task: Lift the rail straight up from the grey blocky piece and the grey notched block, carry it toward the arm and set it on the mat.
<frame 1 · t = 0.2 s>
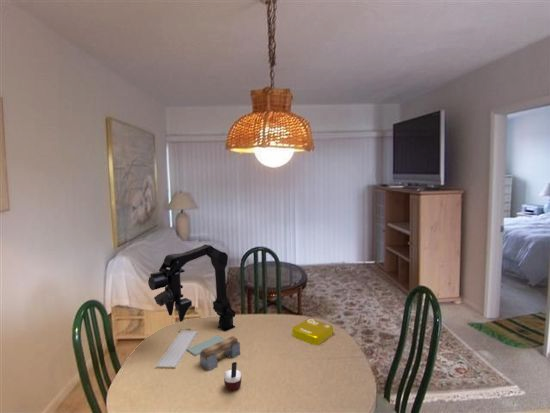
hand: (175, 318, 148), 14 cm above the table, fingers open, 9 cm apart
grey blocky piece: (232, 354, 145), on the table
cocoa: (232, 388, 123), on the table
element tile: (312, 336, 161), on the table
mat: (207, 345, 153), on the table
baseboard: (176, 350, 151), on the table
grey notched block: (208, 366, 137), on the table
rail: (220, 350, 140), point 4 cm above the table, touching grey blocky piece, grey notched block
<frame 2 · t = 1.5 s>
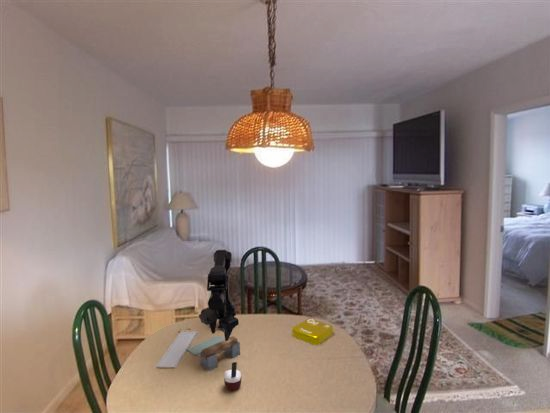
hand: (219, 337, 140), 10 cm above the table, fingers open, 9 cm apart
nothing on the table moved.
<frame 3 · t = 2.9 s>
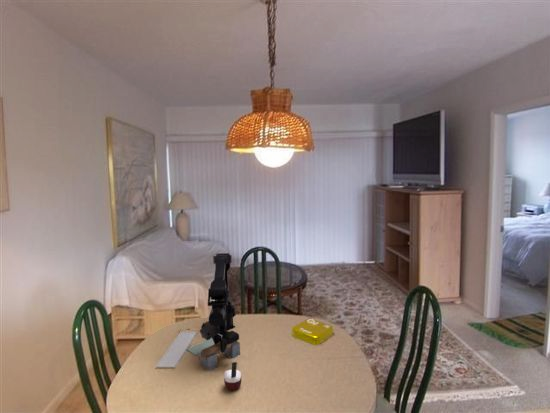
hand: (220, 351, 141), 4 cm above the table, fingers closed on rail, 3 cm apart
rail: (220, 350, 140), point 4 cm above the table, touching gripper, grey blocky piece, grey notched block
everything else where it was.
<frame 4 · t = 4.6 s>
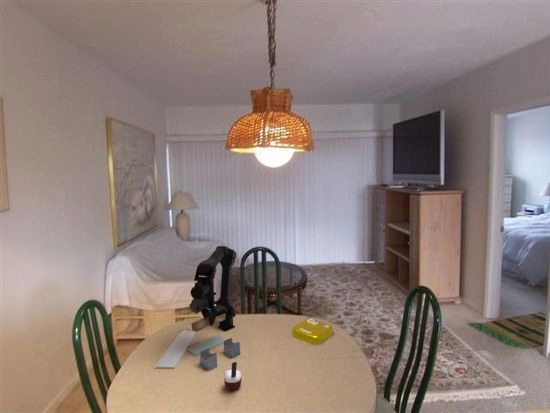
hand: (209, 324, 150), 11 cm above the table, fingers closed on rail, 3 cm apart
rail: (209, 324, 150), point 11 cm above the table, touching gripper
everything else where it was.
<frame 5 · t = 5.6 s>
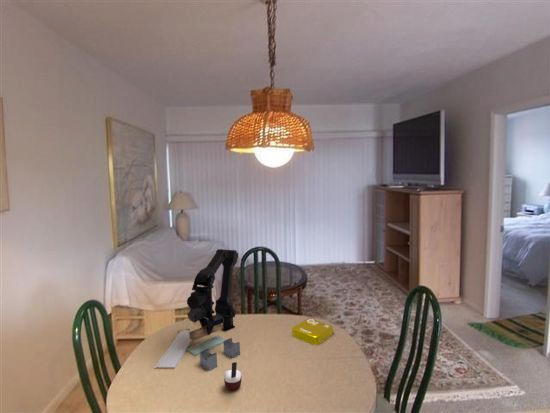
hand: (207, 333, 152), 6 cm above the table, fingers closed on rail, 3 cm apart
rail: (206, 333, 152), point 6 cm above the table, touching gripper
everything else where it was.
when the fingers open (2 cm above the table, at t = 6.4 s): rail drops 2 cm, resting on mat.
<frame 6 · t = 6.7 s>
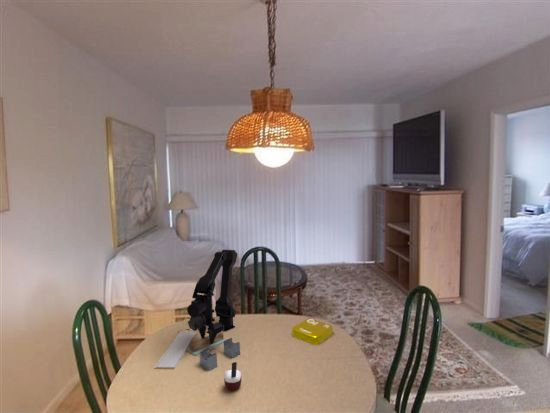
hand: (207, 341, 153), 2 cm above the table, fingers open, 6 cm apart
rail: (207, 344, 153), point 1 cm above the table, touching mat
everything else where it was.
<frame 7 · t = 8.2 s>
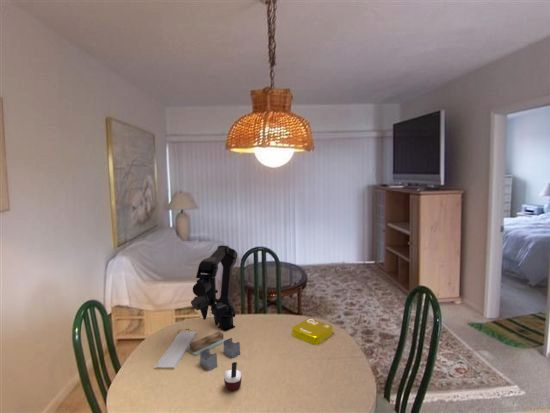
hand: (210, 322, 151), 11 cm above the table, fingers open, 9 cm apart
nothing on the table moved.
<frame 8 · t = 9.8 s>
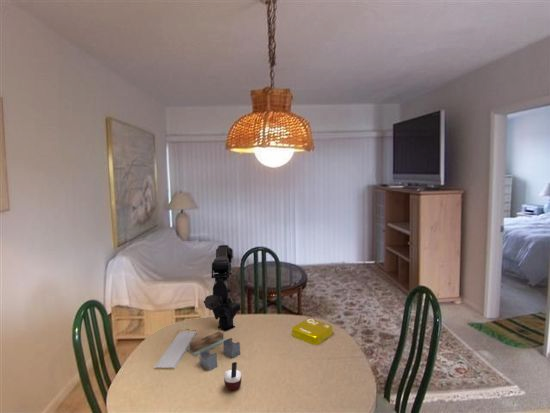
hand: (223, 321, 150), 12 cm above the table, fingers open, 9 cm apart
nothing on the table moved.
at the end: rail inside the target area (0.1 cm from its centre), point 0.6 cm above the table; the gripper is holding nothing; rail moved 14.8 cm from its start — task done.
